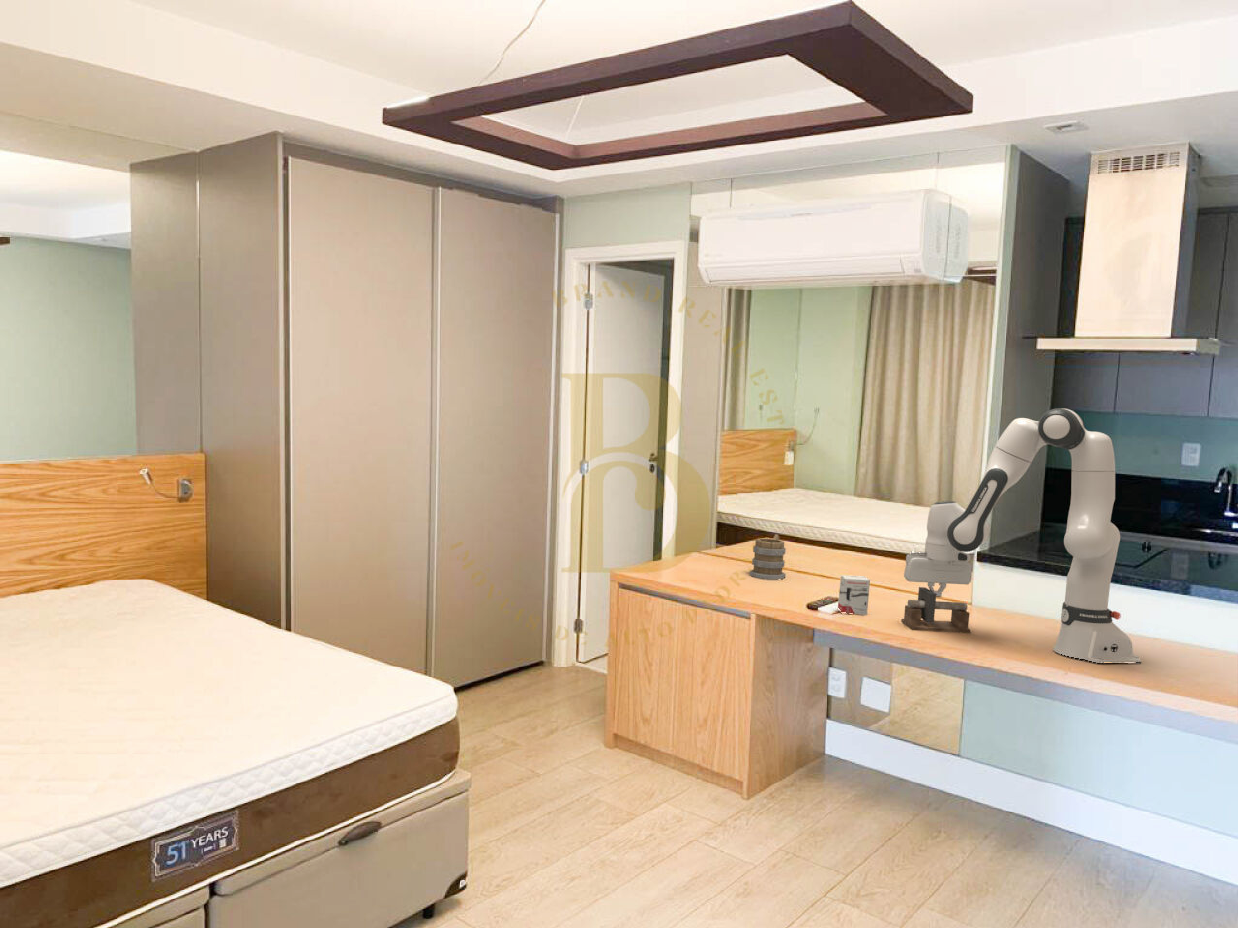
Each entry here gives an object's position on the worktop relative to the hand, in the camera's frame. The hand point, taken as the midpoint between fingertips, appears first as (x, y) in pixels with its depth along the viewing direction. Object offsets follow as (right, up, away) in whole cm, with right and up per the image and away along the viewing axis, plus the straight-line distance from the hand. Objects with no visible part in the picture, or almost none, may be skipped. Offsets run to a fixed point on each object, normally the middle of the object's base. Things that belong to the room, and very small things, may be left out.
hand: (935, 596), depth 285 cm
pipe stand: (0, -10, +1) cm, 10 cm away
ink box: (-22, -7, +14) cm, 27 cm away
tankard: (-40, -2, +70) cm, 80 cm away
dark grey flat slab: (-3, -7, 0) cm, 8 cm away
